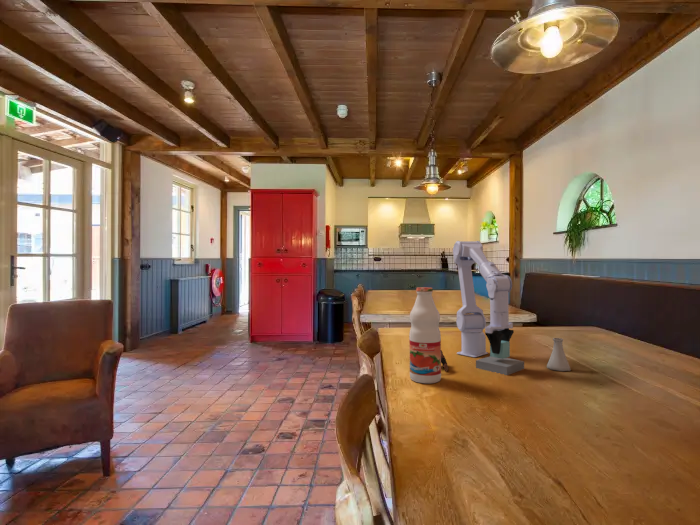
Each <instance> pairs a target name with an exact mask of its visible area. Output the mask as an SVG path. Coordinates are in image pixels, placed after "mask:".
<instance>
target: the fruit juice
mask: <svg viewBox="0 0 700 525" xmlns="http://www.w3.org/2000/svg"><path fill="white" fill-rule="evenodd" d="M415 291H416V294H417V295H416V297H415V302H414V304H413V306H412V308H411V310H410V312H409V323H410V324H411V327H410V328H409V336H408V337H409V339H408V340H409V341H408V342H409V378H410V379H411V381H413V382H416V383H419V384H435V383H439V382H440V381H441V379H442V363H441V350H442V349H441V348H442V343H441V342H442V340H441V339H442V336H441V330H440V327H439V323H440V321H441V314H440V312H439V310H438V308H437V306H436V304H435V301H434V298H433V287H430V286H429V287H427V286H426V287H425V286H423V287H421V286H420V287H418V286H417V287H416V289H415Z"/></svg>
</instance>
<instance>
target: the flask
mask: <svg viewBox="0 0 700 525" xmlns="http://www.w3.org/2000/svg"><path fill="white" fill-rule="evenodd" d="M552 341H553V347H552V352H551V354H550V357H549V359H548V362H547V364H546V368H547V369H548V370H552V371H559V372H570V371H571V366H570V364H569V361H568V359H567V357H566V353H565V351H564V346H563V342H564V338H561V337H553V338H552Z"/></svg>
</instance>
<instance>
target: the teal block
mask: <svg viewBox="0 0 700 525" xmlns="http://www.w3.org/2000/svg"><path fill="white" fill-rule="evenodd" d="M510 344H511V343H510V341H509V342H508V341H502V340H501V345H500V353H499V354H495V353H492V349H491V345H490V344H489V350H490V351H489V357H490V356H491V357H496V358H501V359H504V358H510V357H511V353H510V351H511V350H510V349H511V348H510V346H511V345H510Z"/></svg>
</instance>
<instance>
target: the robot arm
mask: <svg viewBox="0 0 700 525" xmlns="http://www.w3.org/2000/svg"><path fill="white" fill-rule="evenodd" d="M452 254H453V255H452V256H453V260H454V263H455V264H456V265H457V272H458V278H459V280H458V281H459V287H460V293H461V294H460V295H461V302H462V303H461V305H462V306H461V307H460V308H459V309H458V310H457V312H456V327H457V328H458V330H459V331H460V333H461V334H460V335H461V350H460V351H458V352H456V355H460V356H461V355H462V356H466V357H470V358H471V357H472V358H477V357H481V356H484V355H487V354H489V353H488V352H487V346H486V345H487V343H486V342H487V341H486V339H487V340H488V342H489V346H490V345H491V349H492V353H495V354H499V353H500V345H501V340H502V341H508V342H510V340H511V338H512V336H513V335H514V334H515V333H514V331H515V330H514V329H513V328H514V326H513V325H514V324H513V323H514V322H509V321H510V320H509V314H510V313H509V311H510V310H509V293H510V292H511V291H512V288H513V281H512V279H511V277H510V276H509V275H507V274H503V273H502V272H501V271H500V269H499V268H498V267H497V265H496V264H495V263H494V262H493V261H489V260H488V258H487V257H486V255H485V253H484V246H483V244H482V242H481V241H479V240H475V241H474V240H473V241H468V240H467V241H463V240H462V241H461V240H456V241H455V243H454V245H453V248H452ZM473 264H476V265H478V267H479V270H478V272H479V273H480V275H481V277H482V278H483V279H484V280H485V282H486V284H485V286H486V290H487V294H488V298H489V305H490V306H489V308H490V311H489V312H490V313H489V314H490V315H489V320H490V322H489V325H487V319H486V317H485V314H484V311H483V309H482V308H480V307H479V306H478V305H477V301H476V294H475V288H474V287H475V286H474V285H475V284H474V280H473V271H472V266H473ZM484 331H485V332H484Z"/></svg>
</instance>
